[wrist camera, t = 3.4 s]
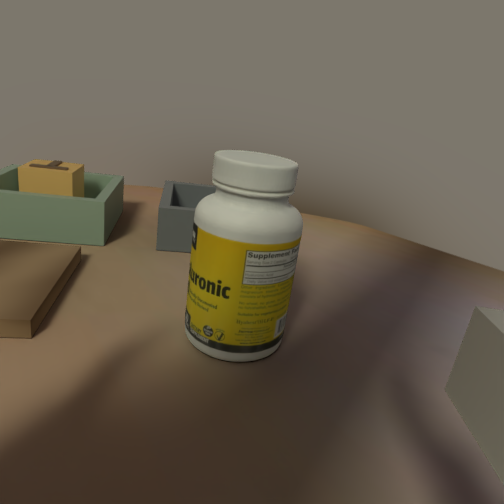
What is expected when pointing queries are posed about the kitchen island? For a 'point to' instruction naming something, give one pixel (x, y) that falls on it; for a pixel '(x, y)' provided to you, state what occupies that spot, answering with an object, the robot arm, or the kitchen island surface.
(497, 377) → the robot arm
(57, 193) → the marked cube
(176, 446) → the kitchen island surface
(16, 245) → the walnut pad
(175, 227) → the charcoal bin
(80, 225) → the sage bin
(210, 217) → the supplement bottle
